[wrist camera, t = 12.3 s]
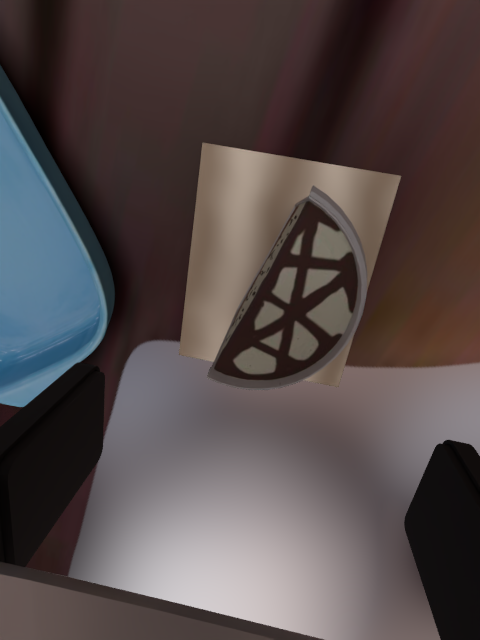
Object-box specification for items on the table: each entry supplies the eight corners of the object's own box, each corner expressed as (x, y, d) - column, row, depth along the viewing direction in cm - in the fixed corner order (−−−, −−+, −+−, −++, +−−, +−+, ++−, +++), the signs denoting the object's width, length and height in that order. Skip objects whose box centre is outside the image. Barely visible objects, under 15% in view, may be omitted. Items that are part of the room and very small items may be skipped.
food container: (293, 358, 31) (294, 432, 22) (228, 323, 31) (202, 384, 22) (380, 226, 27) (428, 249, 18) (306, 184, 27) (315, 185, 17)
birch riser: (387, 176, 29) (401, 176, 26) (333, 365, 36) (338, 387, 32) (213, 147, 30) (202, 142, 26) (190, 337, 36) (178, 354, 33)
